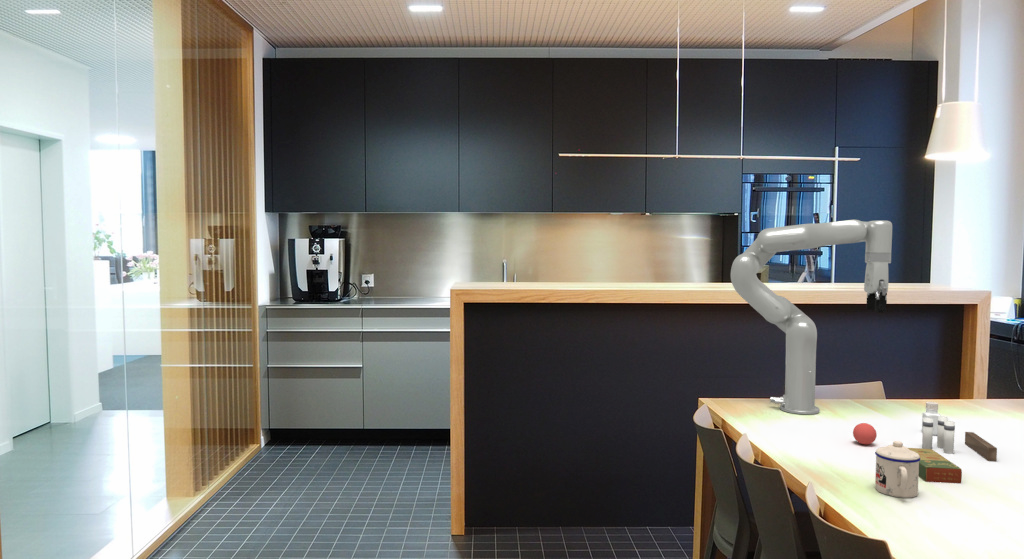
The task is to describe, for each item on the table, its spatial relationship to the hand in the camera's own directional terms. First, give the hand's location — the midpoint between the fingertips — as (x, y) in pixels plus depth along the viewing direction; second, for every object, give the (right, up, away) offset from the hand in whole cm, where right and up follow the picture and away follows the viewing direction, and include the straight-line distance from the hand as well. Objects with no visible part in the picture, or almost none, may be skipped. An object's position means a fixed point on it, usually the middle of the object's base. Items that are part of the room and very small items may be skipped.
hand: (876, 310), depth 227 cm
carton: (-14, -39, -53) cm, 67 cm away
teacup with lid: (-31, -39, -68) cm, 84 cm away
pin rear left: (+2, -37, -32) cm, 49 cm away
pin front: (-3, -37, -33) cm, 50 cm away
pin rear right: (+1, -37, -37) cm, 52 cm away
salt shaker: (+7, -36, -18) cm, 41 cm away
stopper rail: (+9, -37, -36) cm, 53 cm away
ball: (-19, -34, -29) cm, 48 cm away
